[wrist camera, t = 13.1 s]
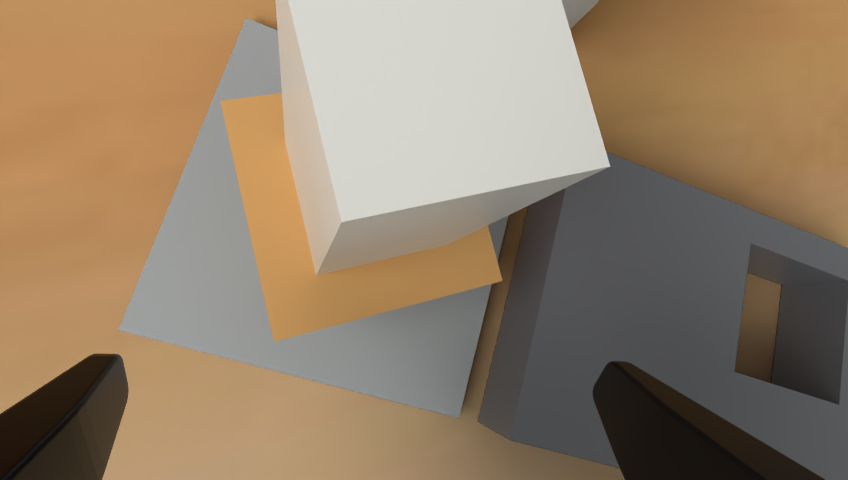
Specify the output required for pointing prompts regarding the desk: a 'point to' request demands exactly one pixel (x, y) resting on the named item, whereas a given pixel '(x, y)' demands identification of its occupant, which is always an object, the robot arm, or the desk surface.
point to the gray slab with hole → (668, 317)
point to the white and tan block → (403, 149)
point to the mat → (242, 292)
